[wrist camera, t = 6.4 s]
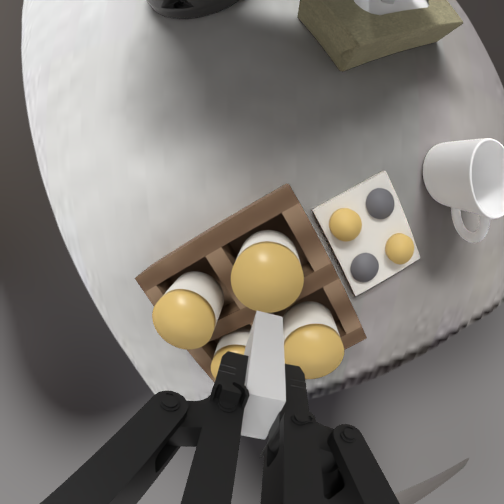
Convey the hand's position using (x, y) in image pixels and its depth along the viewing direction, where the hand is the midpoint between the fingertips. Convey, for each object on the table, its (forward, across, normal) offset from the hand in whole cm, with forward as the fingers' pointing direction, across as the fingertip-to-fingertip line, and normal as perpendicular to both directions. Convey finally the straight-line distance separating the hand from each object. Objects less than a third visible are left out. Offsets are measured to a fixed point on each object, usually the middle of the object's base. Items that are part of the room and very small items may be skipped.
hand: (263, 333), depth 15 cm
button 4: (+14, +6, -6) cm, 16 cm away
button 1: (+14, -6, -6) cm, 16 cm away
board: (+18, 0, -6) cm, 19 cm away
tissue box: (+18, +6, +33) cm, 38 cm away
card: (+18, +11, +5) cm, 22 cm away
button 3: (+14, 0, 0) cm, 14 cm away
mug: (+18, +20, +15) cm, 31 cm away
